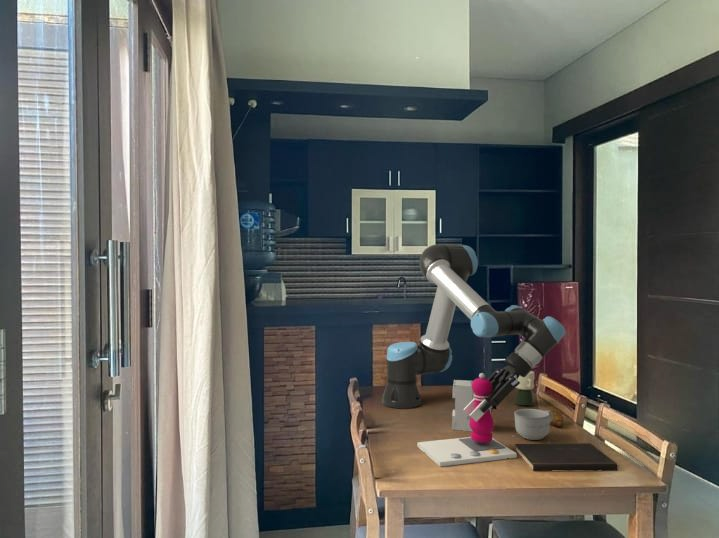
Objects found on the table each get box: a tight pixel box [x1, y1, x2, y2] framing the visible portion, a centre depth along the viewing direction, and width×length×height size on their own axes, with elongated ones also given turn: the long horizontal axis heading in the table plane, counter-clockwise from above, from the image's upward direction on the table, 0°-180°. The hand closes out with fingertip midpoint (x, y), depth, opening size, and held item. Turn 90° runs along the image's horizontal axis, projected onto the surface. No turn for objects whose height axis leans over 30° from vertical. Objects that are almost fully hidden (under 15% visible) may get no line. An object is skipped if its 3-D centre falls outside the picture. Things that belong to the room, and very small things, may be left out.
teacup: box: [513, 408, 553, 441], centre depth 170 cm, size 14×11×8 cm
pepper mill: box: [469, 372, 495, 443], centre depth 160 cm, size 7×7×20 cm
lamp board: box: [417, 436, 518, 468], centre depth 157 cm, size 16×24×2 cm, turn 106°
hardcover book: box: [514, 442, 619, 472], centre depth 151 cm, size 16×23×2 cm
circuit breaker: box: [451, 379, 497, 432], centre depth 179 cm, size 8×14×15 cm, turn 78°
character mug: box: [515, 370, 535, 407], centre depth 206 cm, size 11×7×13 cm, turn 7°
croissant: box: [548, 408, 564, 428], centre depth 185 cm, size 14×7×5 cm, turn 2°
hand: (469, 415), depth 159 cm, fingers closed on pepper mill, 5 cm apart
